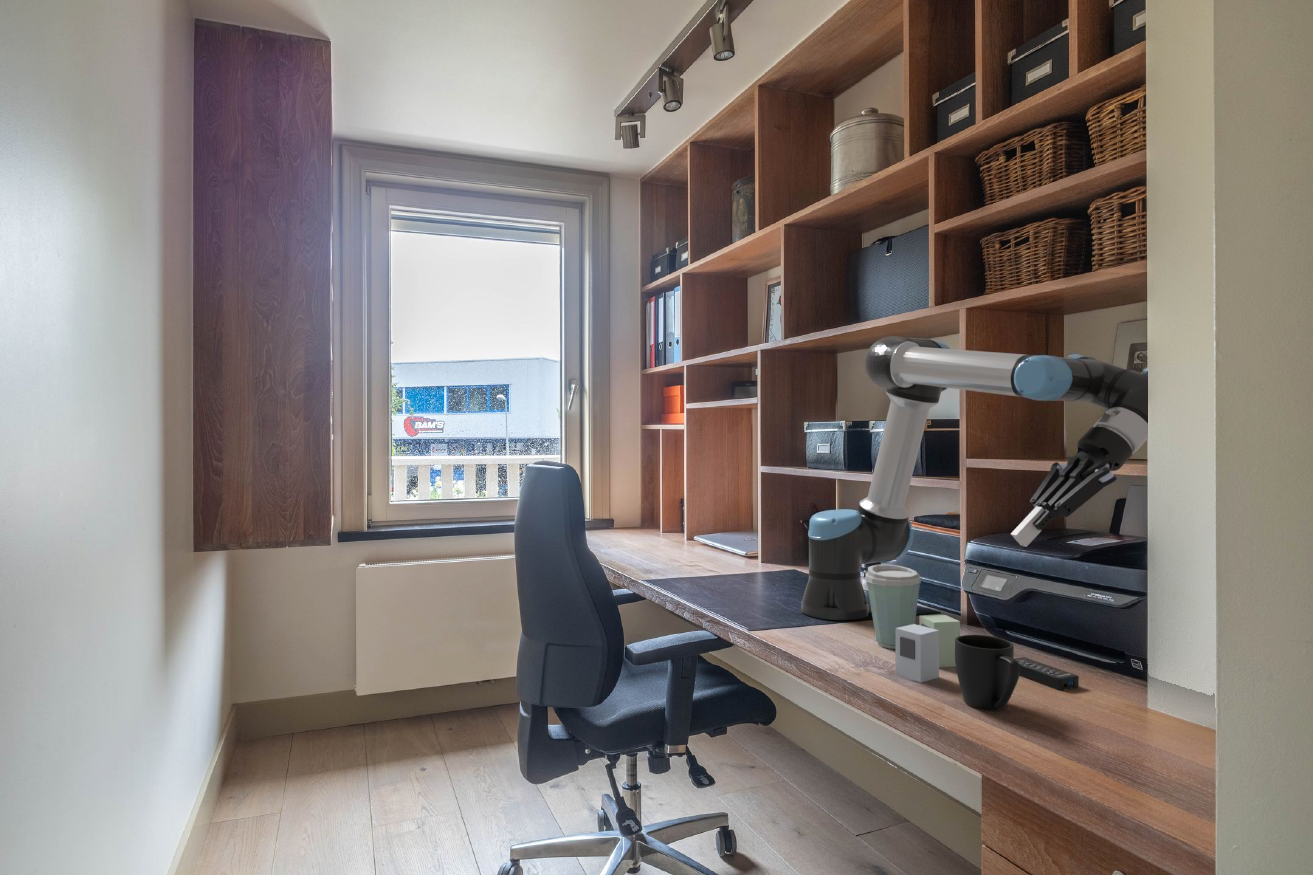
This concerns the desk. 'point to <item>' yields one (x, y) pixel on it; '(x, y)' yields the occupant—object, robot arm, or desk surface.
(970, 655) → the mug
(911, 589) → the disposable coffee cup
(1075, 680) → the multiport hub
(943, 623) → the block sage
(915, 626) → the block grey
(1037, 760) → the desk surface
